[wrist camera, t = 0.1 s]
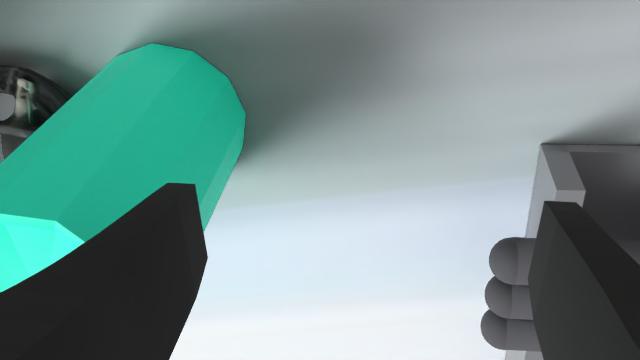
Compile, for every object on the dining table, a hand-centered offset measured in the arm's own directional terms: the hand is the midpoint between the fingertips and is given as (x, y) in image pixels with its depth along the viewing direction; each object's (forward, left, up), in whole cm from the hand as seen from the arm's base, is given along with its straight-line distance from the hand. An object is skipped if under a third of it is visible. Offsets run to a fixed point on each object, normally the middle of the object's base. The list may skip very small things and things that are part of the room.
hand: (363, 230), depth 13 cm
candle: (-3, +8, -10) cm, 13 cm away
